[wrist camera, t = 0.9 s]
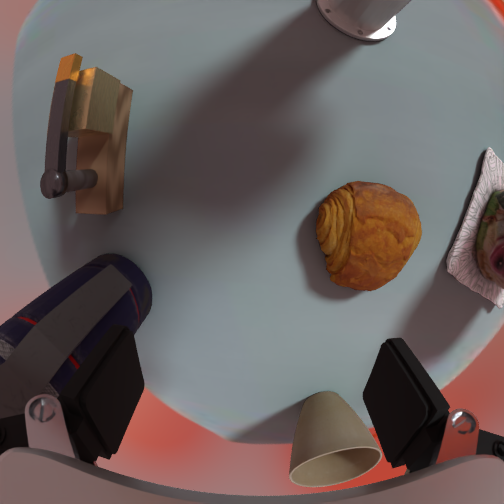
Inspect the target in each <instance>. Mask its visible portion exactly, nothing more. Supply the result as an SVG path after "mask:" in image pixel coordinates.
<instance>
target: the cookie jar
mask: <svg viewBox="0 0 504 504" xmlns="http://www.w3.org/2000/svg"><path fill="white" fill-rule="evenodd" d="M446 262H447V271H448V272H449V273H450V274H451V275H453V276H454V277H455V278H456V279H457V280H458V281H459V282H460V283H462V284H464V285H465V286H468V287H469V288H470V289H471V290H472V291H475V292H478V293H479V294H481V295H482V296H483V297H485V298H486V299H489V300H490V301H492V302H493V303H494V304H495V305H497V307H498V308H502V306H503V304H504V164H503V162H502V161H501V160H500V159H499V158H498V157H497V156H496V155H495V154H494V152H493V150H492V148H490V147H488V148H487V150H486V153H485V156H484V160H483V164H482V169H481V175H480V178H479V180H478V183H477V186H476V188H475V190H474V192H473V195H472V198H471V201H470V204H469V206H468V209H467V212H466V214H465V217H464V220H463V222H462V225H461V227H460V230H459V232H458V234H457V237H456V239H455V241H454V244H453V246H452V248H451V250H450V251H449V253H448V256H447V260H446Z"/></svg>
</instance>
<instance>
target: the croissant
mask: <svg viewBox="0 0 504 504" xmlns="http://www.w3.org/2000/svg"><path fill="white" fill-rule="evenodd" d="M316 233H317V236H318V237H317V238H316V239H318V240H319V243H320V246H321V250H322V251H323V252H324V253H325V254H326V256H325V260H326V263H327V266H326V267H327V268H326V270H328V272H329V273H330V274H331V276H330V280H331V281H332V282H334V283H336V284H337V285H339V286H343V287H350V288H352V289H354V290H367V291H372V290H376V289H378V288H380V287H382V286H383V285H385V284H386V283H388V282H389V281H391V280H392V279H394V278H395V277H396V276H397V275H398V273H399V272H400V271H401V270H402V268H403V267H404V265H405V264H406V263H407V261H408V260H409V258H410V257H411V255H412V254H413V252H414V250H415V249H416V248H417V246H418V244H419V241H420V239H421V235H422V230H421V222H420V219H419V215H418V213H417V210H416V208H415V206H414V204H413V202H412V201H411V200H410V199H409V198H408V197H407V196H405V195H403V194H400V193H398V192H396V191H395V190H394V189H392V188H391V187H388V186H386V185H383V184H379V183H370V182H362V181H355V182H350V183H347V184H346V185H344V186H342V187H340V188H338V189H337V190H334V191H333V192H331V193H330V194H329V195H328V196H327V198H326V199H325V201H324V203H323V204H321V206H320V207H319V215H318V218H317V221H316Z"/></svg>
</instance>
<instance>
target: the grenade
mask: <svg viewBox="0 0 504 504" xmlns="http://www.w3.org/2000/svg"><path fill="white" fill-rule="evenodd" d="M151 306H152V292H151V287H150V284H149V282H148V280H147V279H146V277H145V275H144V274H143V272H142V271H141V270H140V269H139V268H138V266H137V265H136V264H134V263H133V262H132V261H130V260H129V259H127V258H125V257H123V256H121V255H117V254H104V255H100V256H98V257H97V258H95V259H94V260H92V261H91V262H89V263H87V264H86V265H84V266H83V267H82V268H80V269H78V270H76V271H75V272H73V273H72V274H70V275H69V276H67V277H66V278H65V279H63V280H62V281H60V282H59V283H57V284H56V285H54V286H53V287H51V288H50V289H49V290H47V291H46V292H44V293H43V294H42V295H40V296H39V297H38V298H36V299H35V300H33V301H32V302H31V303H30V304H28V305H27V306H25V307H24V308H23V309H21V310H20V311H19V312H17V313H16V314H15V315H14V316H13V317H12V318H10V319H9V320H7V321H6V322H5V323H3V324H2V325H1V326H0V418H5V417H10V416H15V415H19V414H23V413H25V407H26V405H27V403H28V402H29V400H30V399H32V398H33V397H35V396H37V395H40V394H48V395H52V396H54V397H56V398H58V396H59V395H60V392H61V391H62V390H63V388H64V387H65V385H66V384H67V383H68V381H69V380H70V379H71V377H72V376H73V375H74V373H75V372H76V371H77V369H78V368H79V367H80V365H81V364H82V363H83V361H84V360H85V359H86V357H87V356H88V355H89V354H90V352H91V351H92V350H93V348H94V347H95V346H96V345H97V343H98V342H99V341H100V340H101V338H102V337H103V336H104V335H105V333H106V332H107V331H108V330H109V328H110V327H111V326H112V325H113V324H117V325H123V326H127V327H129V330H130V331H133V334H135V333H136V331H137V330H138V328H139V327H140V325H141V324H142V322H143V321H144V319H145V318H146V316H147V315H148V313H149V312H150V309H151Z"/></svg>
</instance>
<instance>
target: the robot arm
mask: <svg viewBox="0 0 504 504" xmlns="http://www.w3.org/2000/svg"><path fill="white" fill-rule="evenodd" d="M410 1H411V0H317V1H316V2H317V6H318V9H319V10H320V12H321V14H322V15H323V16H324V18H325V19H326V20H327V21H328V22H329V23H330V24H331V25H333V26H334V27H335V28H337V29H338V30H340V31H341V32H343V33H345V34H347V35H349V36H351V37H354V38H357V39H360V40H366V41H380V40H383V39H386V38H387V37H388V36H390V35H391V34H392V33H393V32H394V30H395V27H396V18H395V15H396V14H397V13H399V12H400V11H401V10H402V9H403V8H404V7H405V6H406V5H407V4H408V3H409V2H410ZM143 390H144V379H143V375H142V371H141V367H140V362H139V358H138V353H137V348H136V344H135V338H134V334H133V331H130V330H129V327H127V326H123V325H117V324H113V325H112V326H111V327H110V328H109V330H108V331H107V332H106V333H105V335H104V336H103V337H102V338H101V340H100V341H99V342H98V343H97V345H96V346H95V347H94V348H93V350H92V351H91V352H90V354H89V355H88V356H87V357H86V359H85V360H84V361H83V363H82V364H81V365H80V367H79V368H78V369H77V371H76V372H75V373H74V375H73V376H72V377H71V379H70V380H69V381H68V383H67V384H66V385H65V387H64V388H63V390H62V391H61V392H60V395H59V396H58V398H56V397H54V396H52V395H48V394H40V395H37V396H35V397H33V398H32V399H30V400H29V402H28V403H27V405H26V407H25V413H23V414H19V415H15V416H10V417H5V418H0V504H504V437H502V436H499V435H496V434H493V433H490V432H486V431H483V430H480V429H479V422H478V419H477V417H476V416H475V415H474V414H473V413H472V412H470V411H468V410H466V409H456V410H454V411H452V412H451V413H449V411H448V409H449V408H450V406H449V404H448V403H447V401H446V400H445V398H444V397H443V395H442V394H441V392H440V391H439V389H438V388H437V386H436V385H435V383H434V382H433V380H432V379H431V378H430V376H429V375H428V373H427V372H426V370H425V369H424V368H423V366H422V365H421V363H420V362H419V361H418V359H417V358H416V357H415V355H414V354H413V352H412V351H411V350H410V348H409V347H408V346H407V344H406V343H405V342H404V340H403V339H402V338H391V339H387V340H386V341H385V343H383V344H382V345H381V348H380V351H379V353H378V356H377V359H376V361H375V364H374V367H373V369H372V372H371V374H370V377H369V379H368V382H367V384H366V386H365V389H364V391H363V400H364V403H365V405H366V408H367V410H368V413H369V415H370V418H371V420H372V423H373V425H374V428H375V431H376V433H377V436H378V439H379V441H380V444H381V447H382V449H383V452H384V455H385V457H386V460H387V461H388V462H391V465H392V468H395V467H399V466H402V465H405V464H406V467H407V470H406V472H405V475H402V476H399V477H395V478H392V479H388V480H385V481H381V482H377V483H372V484H368V485H364V486H359V487H354V488H349V489H342V490H336V491H329V492H322V493H313V494H304V495H303V494H302V495H287V496H286V495H285V496H242V495H226V494H215V493H206V492H198V491H191V490H184V489H179V488H173V487H169V486H164V485H159V484H155V483H151V482H147V481H143V480H139V479H135V478H132V477H128V476H124V475H121V474H118V473H115V472H112V471H109V470H106V469H103V468H100V467H98V466H97V463H96V460H97V458H98V456H100V457H103V458H106V459H110V458H111V455H112V454H116V452H117V451H118V448H119V446H120V444H121V441H122V439H123V436H124V434H125V432H126V429H127V427H128V425H129V422H130V420H131V417H132V415H133V413H134V411H135V408H136V406H137V404H138V402H139V399H140V397H141V395H142V393H143Z"/></svg>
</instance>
